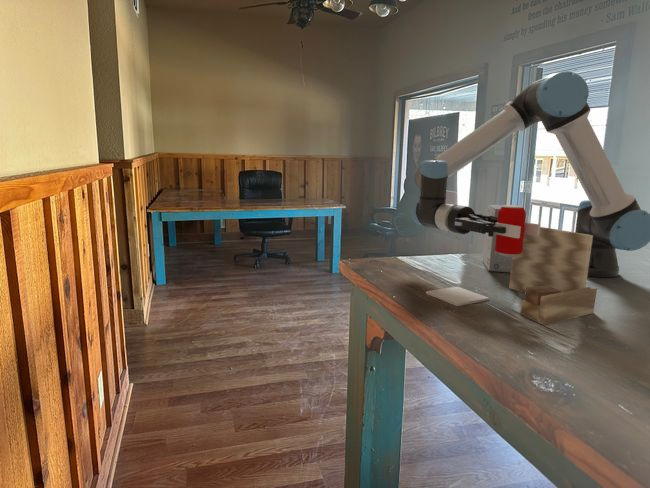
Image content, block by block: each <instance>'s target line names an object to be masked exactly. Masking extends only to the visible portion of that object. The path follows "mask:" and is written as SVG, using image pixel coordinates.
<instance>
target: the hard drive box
mask: <svg viewBox="0 0 650 488" xmlns="http://www.w3.org/2000/svg"><path fill="white" fill-rule="evenodd" d="M503 205H504V204H503ZM503 205H501V204H500V205H499V204H488V205H487V212H486V213H487V214H486V216H494V217H498V211H499V210H500V208H501V207H502V206H503ZM495 243H496V234H495V232H493V237H490V236H488V233H485V234H484V244H483V253H482V254H483V255H482V262H483V264H484V265H485V268H486V269H487V270H488V271H489V272H500V273H509V274H511V265H512V257H506V256H501V255H499V254H498V253H497V252H496V251H495Z"/></svg>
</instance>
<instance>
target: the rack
mask: <svg viewBox="0 0 650 488" xmlns="http://www.w3.org/2000/svg"><path fill="white" fill-rule="evenodd" d="M592 240H593V235H588V234H582V233H576V232H575V231H568V230H564V229H557V228H550V227H544V226H540V233H539V236H534V235H528V234H524V239H523V249H522V254H520V255H518V256H516V257H512V265H511V273H509V274H510V275H509V284H508V285H509V287H508V288H509V289H512V290H515V291H518V292H520V293H523V294H525V293H526V287H540V286H549V287H552V288H555V289H557V290H560V291H561V293H556V294H551V295H546V296H541V301H540V310H539V318H538V320H537V324H540V325H543V326H546V325H551V324H554V323H558V322H562V321H566V320H571V319H575V318H579V317H582V316H583V317H584V316H586V315H587V316H588V315H591V314H594V312H595V304H596V299H597V291H598V288H596V287H594V286H593V287H592V286H587V283H588V282H587V280H588V276H587V275H588V268H589V261H590V254H591V247H592Z"/></svg>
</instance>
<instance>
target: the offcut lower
mask: <svg viewBox="0 0 650 488" xmlns="http://www.w3.org/2000/svg"><path fill="white" fill-rule="evenodd" d="M539 310H540V305H535V304H533V303H531V302H528V301H526V300H525V299H523V300H522V301H521V308H520V315H522V316H525V317H527V318H531V319H532V320H533V319H534V320H535V321H538V318H539Z"/></svg>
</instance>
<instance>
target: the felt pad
mask: <svg viewBox="0 0 650 488" xmlns="http://www.w3.org/2000/svg"><path fill="white" fill-rule="evenodd" d="M425 293H426V294H427V295H428V296H431V297H434V298H436V299H439V300H441V301H443V302H446V303H448V304H450V305H452V306H456V307H461V306H466V305H470V304H476V303H482V302H487V301H490V297H488V296H485V295H483V294H479V293H477V292H474V291H471V290H469V289H466V288H464V287H460V286H452V287H446V288H439V289H433V290H427V291H425Z"/></svg>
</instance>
